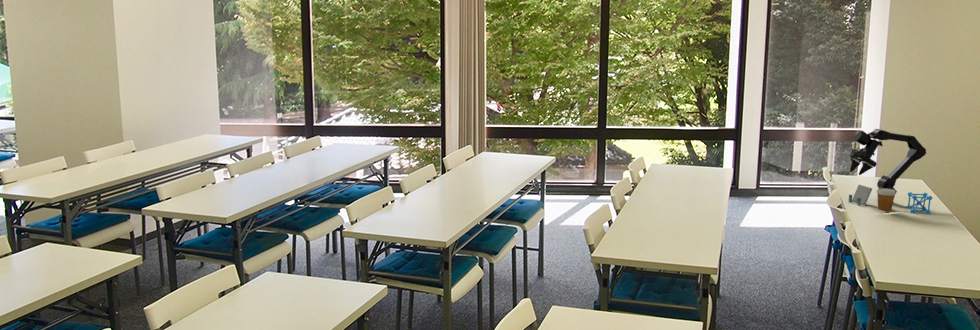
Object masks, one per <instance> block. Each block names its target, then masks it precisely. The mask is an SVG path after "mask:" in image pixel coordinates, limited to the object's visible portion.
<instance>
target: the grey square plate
mask: <svg viewBox="0 0 980 330" xmlns="http://www.w3.org/2000/svg"><path fill="white" fill-rule="evenodd" d="M872 190H873V188H872V187H870V186H869V187H868V186H866V185H862V184H858V185H857V187H856V189H855V191H854V194H853V195H852V202H851V203H856V204H857V198H858V197H860V198H861V202H860V206H864V204H866V205H867V203H868V200H869V198H870V196H871V193H872Z"/></svg>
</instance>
